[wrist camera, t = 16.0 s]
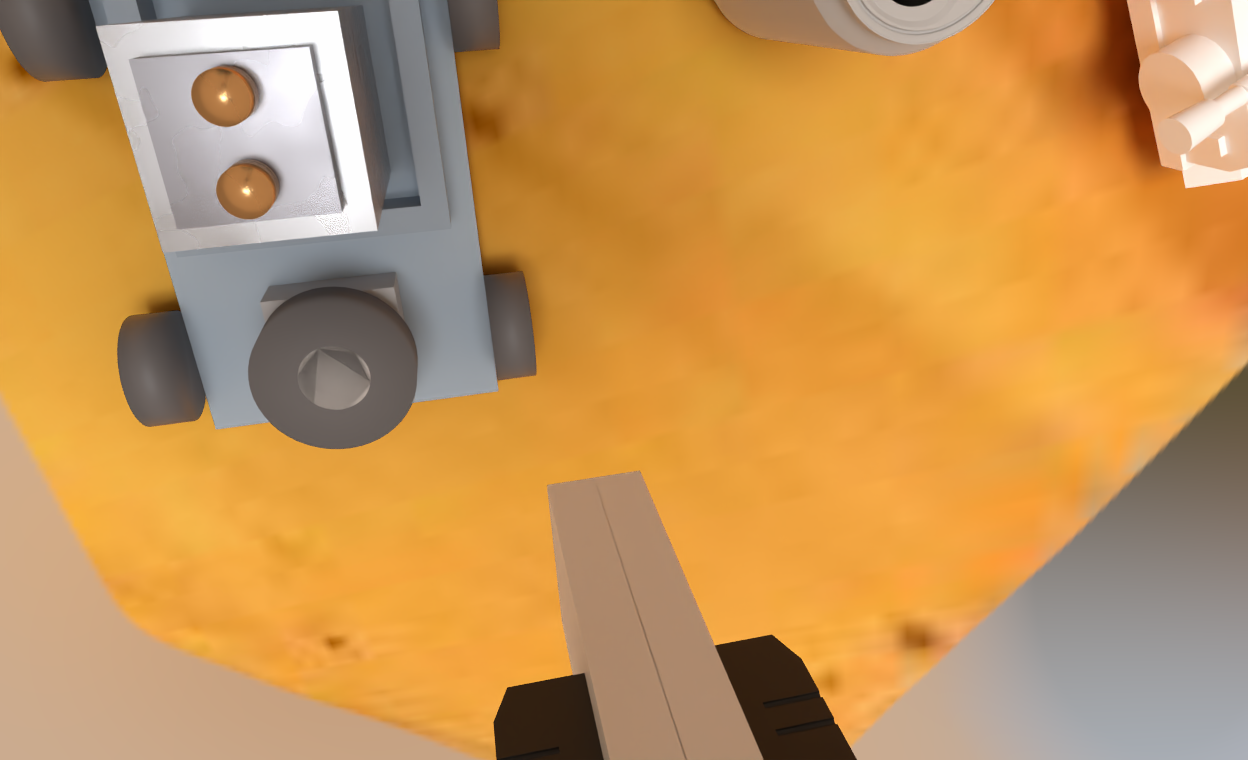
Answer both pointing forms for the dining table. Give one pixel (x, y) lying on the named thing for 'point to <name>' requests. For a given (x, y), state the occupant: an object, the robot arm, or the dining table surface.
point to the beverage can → (855, 22)
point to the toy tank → (1196, 84)
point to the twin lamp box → (252, 124)
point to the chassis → (367, 261)
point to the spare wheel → (334, 368)
